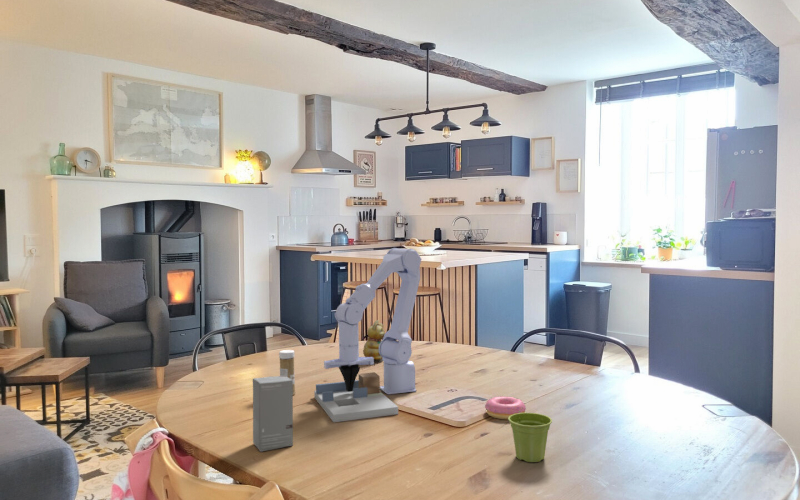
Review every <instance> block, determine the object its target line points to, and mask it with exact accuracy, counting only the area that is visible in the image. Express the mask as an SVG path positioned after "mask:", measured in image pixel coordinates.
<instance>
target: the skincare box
mask: <svg viewBox="0 0 800 500" xmlns="http://www.w3.org/2000/svg"><path fill="white" fill-rule="evenodd" d="M292 381H293V380H291V379H290V378H288V377H286V376H280V375H277V376H276V375H275V376H271V375H270V376H264V377H256V378H255V377H253V378H252V443H253V444H254V446H255V447H256V448H257V449H258V450H259V452H260V453H261V452H265V451H266V452H267V451H271V450H277V449H281V448H287V447H292V446H293V445H294V433H293V432H294V419H293V418H294V412H293V411H294V407H293V406H294V405H293V403H294V402H293V401H294V398H293V397H294V395H293V382H292Z"/></svg>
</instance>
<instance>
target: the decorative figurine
mask: <svg viewBox="0 0 800 500" xmlns="http://www.w3.org/2000/svg"><path fill="white" fill-rule="evenodd" d="M372 324H373V325H370V327H368V329H367V336H368V338H367V341H366V342H364V345H363V350H362V352H363V354H362V355H363V357H373V358H374V363H377V362H378V363H380V362H383V357H382V356H381V355H380V354H379V345H380V343H381V341H382V340H383V338H384V334H385V333H386V332H385V329H384V328H383V327H384V325H383V323H382V322H380V320H379V319H377V320H375V321H374V323H372Z"/></svg>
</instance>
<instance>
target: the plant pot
mask: <svg viewBox="0 0 800 500" xmlns="http://www.w3.org/2000/svg"><path fill="white" fill-rule="evenodd" d="M508 421H509V424H510V428H511V430H512V436H513V442H514V443H513V444H514V450H515V455H516V458H517V459H518V460H520V461H521V460H523V461H525V462H526V463H537V462H541V461H542V460H544V459H545V456H546V448H547V440H548V433H549V430H550V427H551V425H552V423H553V419H552V418H551V417H550V416H548V415H545V414H543V413H542V414H541V413H535V412H525V413H517V414H513V415H510V416H509V417H508Z"/></svg>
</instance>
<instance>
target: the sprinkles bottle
mask: <svg viewBox="0 0 800 500" xmlns="http://www.w3.org/2000/svg"><path fill="white" fill-rule="evenodd" d="M278 355H279V356H278V357H279V376H286V377H288V378H290V379H291V380H293V381H292V382H293V396H295V394H296V391H295V390H296V389H295V386H296V385H295V383H296V380H295V379H296V378H295V350H293V349H284V350H280V351H279V352H278Z"/></svg>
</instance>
